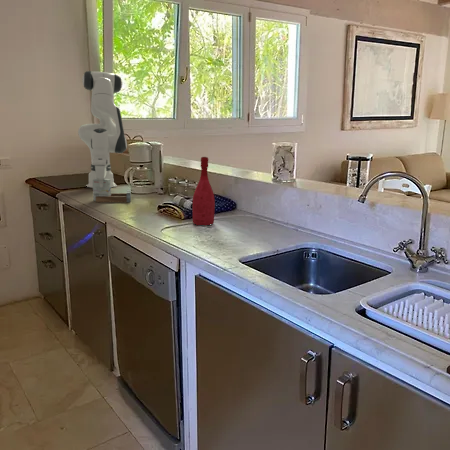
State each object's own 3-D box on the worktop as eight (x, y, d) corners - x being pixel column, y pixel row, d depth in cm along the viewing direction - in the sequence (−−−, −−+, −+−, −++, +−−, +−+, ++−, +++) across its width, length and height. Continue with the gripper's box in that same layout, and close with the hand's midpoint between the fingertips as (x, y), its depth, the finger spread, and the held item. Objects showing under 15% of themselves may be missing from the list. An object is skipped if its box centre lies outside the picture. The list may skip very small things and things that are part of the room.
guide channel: (97, 198, 256) (97, 189, 254) (130, 198, 259) (130, 189, 258) (95, 202, 246) (95, 193, 244) (130, 202, 249) (130, 193, 248)
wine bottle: (217, 222, 210) (219, 156, 203) (209, 227, 201) (211, 158, 194) (197, 220, 213) (198, 155, 206) (188, 225, 204) (189, 157, 197)
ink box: (111, 200, 253) (111, 178, 250) (108, 201, 248) (107, 180, 246) (96, 199, 254) (95, 177, 251) (93, 201, 249) (92, 179, 246)
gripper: (96, 157, 255) (97, 182, 259) (93, 162, 236) (94, 188, 239) (108, 157, 256) (109, 182, 260) (105, 162, 237) (106, 188, 240)
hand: (102, 185), depth 249 cm, fingers open, 7 cm apart
